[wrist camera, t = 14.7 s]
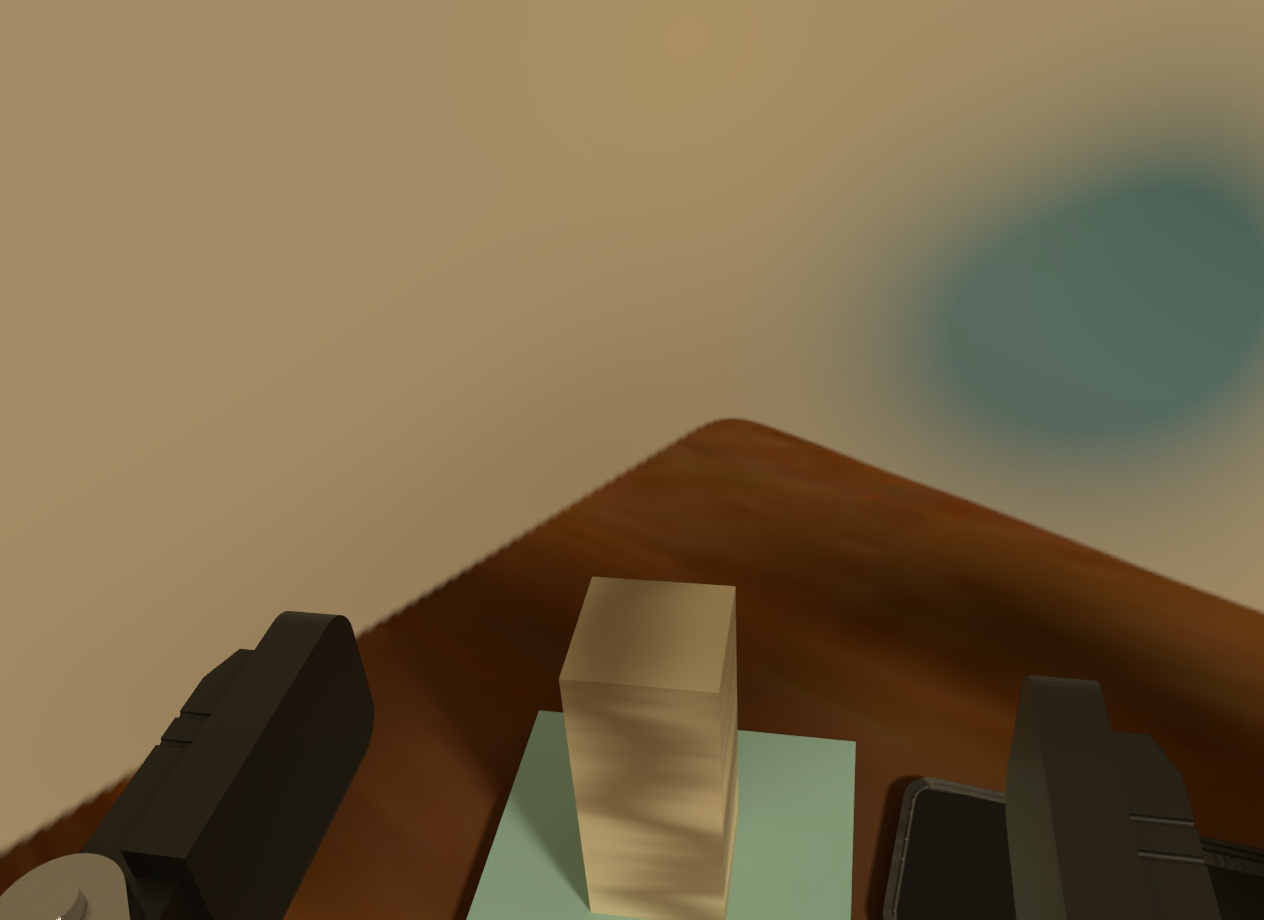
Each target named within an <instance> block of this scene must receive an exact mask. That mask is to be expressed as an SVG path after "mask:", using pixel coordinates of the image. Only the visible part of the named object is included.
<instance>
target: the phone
mask: <svg viewBox="0 0 1264 920" xmlns="http://www.w3.org/2000/svg"><path fill="white" fill-rule="evenodd" d="M1199 839H1200V843H1201V846H1202V850H1203V853H1204V865H1205V866H1207V868H1208V872H1209V875H1210V879H1211V882H1212V886H1213V890H1214V893H1215V897H1216V900H1217V904H1218V908H1219V911H1220V915H1221V919H1222V920H1264V850H1263V849H1259V848H1254V847H1250V846H1245V845H1240V844H1236V843H1231V842H1227V841H1222V840H1217V839H1213V838H1208V837H1204V836H1199ZM882 920H1017V919H1016V909H1015V900H1014V891H1013V881H1012V872H1011V863H1010V853H1009V844H1008V834H1007V825H1006V793H1002V792H998V791H993V790H989V789H984V788H979V787H975V786H970V785H966V784H961V783H957V782H952V781H948V780H943V779H938V778H931V777H925V778H919V779H917V780H915V781H912V782H911V783H910V784H909V785H908V786H907V787H906V790H905V792H904V796H903V801H902V807H901V812H900V818H899V823H898V829H897V834H896V840H895V845H894V851H893V856H892V862H891V867H890V873H889V878H888V884H887V889H886V895H885V900H884V906H883V913H882Z"/></svg>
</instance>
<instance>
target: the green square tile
mask: <svg viewBox="0 0 1264 920" xmlns="http://www.w3.org/2000/svg"><path fill="white" fill-rule="evenodd" d="M737 734H738V809H739V818H738V826H737V834H736V842H735V851H734V859H733V867H732V875H731V884H730V892H729V900H728V908H727V917H726V920H851V889H852V853H853V818H854V783H855V747H856V742H852V741H842V740H832V739H822V738H812V737H802V736H792V735H782V734H772V733H762V732H752V731H742V730H737ZM466 920H648V919H640V918H632V917H624V916H616V915H608V914H600V913H592V912H591V910H590V903H589V895H588V888H587V881H586V874H585V866H584V859H583V852H582V844H581V837H580V830H579V822H578V815H577V808H576V800H575V793H574V786H573V778H572V771H571V764H570V757H569V749H568V742H567V735H566V727H565V720H564V713H560V712H550V711H540V710H539V712H538V715H537V718H536V721H535V723H534V726H533V729H532V732H531V735H530V738H529V741H528V744H527V746H526V749H525V752H524V755H523V758H522V761H521V764H520V767H519V770H518V772H517V775H516V778H515V781H514V784H513V787H512V790H511V793H510V795H509V798H508V801H507V804H506V807H505V810H504V813H503V816H502V818H501V821H500V824H499V827H498V830H497V833H496V836H495V839H494V842H493V844H492V847H491V850H490V853H489V856H488V859H487V862H486V865H485V867H484V870H483V873H482V876H481V879H480V882H479V885H478V888H477V890H476V893H475V896H474V899H473V902H472V905H471V908H470V911H469V914H468V916H467V919H466Z"/></svg>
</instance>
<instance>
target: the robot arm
mask: <svg viewBox="0 0 1264 920" xmlns="http://www.w3.org/2000/svg"><path fill="white" fill-rule="evenodd" d="M373 721H374V708H373V701H372V697H371V693H370V690H369V686H368V682H367V679H366V675H365V672H364V668H363V664H362V661H361V657H360V654H359V650H358V646H357V643H356V639H355V636H354V632H353V629H352V626H351V623H350V622H349V620H348V619H347V618H346V617H344V616H342V615H330V614H318V613H306V612H294V611H286V612H283V613H281V614H280V615H279V616H278V617H277V618H276V619H275V621H274V622H273V623H272V625H271V626H270V628H269V629H268V631H267V632H266V634H265V635H264V637H263V638H262V640H261V641H260V643H259V644H258V646H257V647H256V649H255V650H247V649H239V650H238V651H237V652H235V653H234V654H233V655H231V656H230V657H229V658H228V659H226V660H225V661H224V662H223V663H221V664H220V665H219V666H217V667H216V668H215V669H214V670H212V671H211V672H210V673H209V674H207V675H206V676H205V677H204V678H203V679H202V681H201V682H200V683H199V685H198V686H197V688H196V689H195V690H194V692H193V693H192V695H191V696H190V698H189V699H188V701H187V702H186V703H185V705H184V706H183V707H182V709H181V710H180V717H179V718H175V719H174V720H173V722H172V723H171V724H170V726H169V727H168V729H167V730H166V732H165V733H164V735H163V736H162V737H161V743H160V745H156V746H155V747H154V749H153V750H152V751H151V753H150V754H149V756H148V757H147V758H146V760H145V761H144V763H143V764H142V766H141V767H140V768H139V770H138V771H137V773H136V774H135V775H134V777H133V778H132V780H131V781H130V783H129V784H128V785H127V787H126V788H125V790H124V791H123V792H122V794H121V795H120V797H119V798H118V800H117V801H116V802H115V804H114V805H113V807H112V808H111V810H110V811H109V812H108V814H107V815H106V817H105V818H104V819H103V821H102V822H101V824H100V825H99V827H98V828H97V829H96V831H95V832H94V834H93V835H92V836H91V838H90V839H89V841H88V842H87V844H86V845H85V846H84V847H83V849H82V850H81V851H80V852H79V854H72V855H67V856H63V857H60V858H57V859H54V860H51V861H49V862H47V863H44V864H42V865H40V866H38V867H37V868H35V869H33V870H31V871H30V872H28V873H27V874H25V875H24V876H23V877H21V878H20V879H18V880H17V881H16V882H15V883H14V884H13V885H11V886H10V887H9V888H8V889H7V890H6V891H5V892H4V893H3V894H2V896H1V897H0V920H282V919H283V917H284V915H285V913H286V911H287V909H288V907H289V905H290V903H291V901H292V899H293V897H294V895H295V893H296V891H297V889H298V887H299V885H300V883H301V881H302V879H303V877H304V875H305V873H306V871H307V869H308V867H309V865H310V863H311V861H312V859H313V857H314V855H315V853H316V851H317V849H318V847H319V845H320V843H321V841H322V839H323V837H324V835H325V833H326V831H327V829H328V827H329V825H330V823H331V821H332V819H333V817H334V815H335V813H336V811H337V809H338V807H339V805H340V803H341V801H342V799H343V797H344V795H345V793H346V791H347V789H348V787H349V785H350V783H351V781H352V779H353V777H354V775H355V773H356V771H357V769H358V767H359V765H360V763H361V761H362V759H363V757H364V755H365V753H366V751H367V748H368V746H369V743H370V739H371V735H372V730H373ZM1006 825H1007V834H1008V844H1009V853H1010V863H1011V872H1012V881H1013V891H1014V900H1015V909H1016V919H1017V920H1222V919H1221V915H1220V911H1219V908H1218V904H1217V900H1216V897H1215V893H1214V890H1213V886H1212V882H1211V879H1210V875H1209V872H1208V868H1207V866H1205V865H1204V853H1203V850H1202V846H1201V843H1200V839H1199V835H1198V832H1197V829H1195V828H1194V817H1193V814H1192V810H1191V806H1190V803H1189V799H1188V795H1187V792H1186V788H1185V785H1184V781H1183V777H1182V775H1181V774H1180V772H1179V771H1178V770H1177V768H1176V767H1175V766H1174V765H1173V763H1172V762H1171V761H1170V759H1169V758H1168V757H1167V756H1166V754H1165V753H1164V752H1163V751H1162V749H1161V748H1160V747H1159V745H1158V744H1157V743H1156V742H1155V740H1154V739H1153V738H1152V736H1151V735H1148V734H1137V733H1126V732H1115V731H1111V729H1110V724H1109V720H1108V715H1107V710H1106V706H1105V701H1104V697H1103V693H1102V689H1101V686H1100V684H1099V683H1098V682H1097V681H1094V680H1082V679H1070V678H1058V677H1046V676H1034V675H1026V676H1025V678H1024V681H1023V685H1022V690H1021V695H1020V701H1019V706H1018V712H1017V717H1016V723H1015V728H1014V734H1013V740H1012V745H1011V751H1010V756H1009V762H1008V768H1007V777H1006Z"/></svg>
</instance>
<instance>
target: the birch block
mask: <svg viewBox="0 0 1264 920" xmlns="http://www.w3.org/2000/svg"><path fill="white" fill-rule="evenodd" d="M559 683H560V691H561V698H562V705H563V713H564V720H565V727H566V735H567V742H568V749H569V757H570V764H571V771H572V778H573V786H574V793H575V800H576V808H577V815H578V822H579V830H580V837H581V844H582V852H583V859H584V866H585V874H586V881H587V888H588V895H589V903H590V910H591V912H592V913H600V914H608V915H616V916H624V917H632V918H640V919H648V920H726V917H727V908H728V900H729V892H730V884H731V875H732V867H733V859H734V851H735V842H736V834H737V826H738V818H739V809H738V734H737V660H736V586H723V585H708V584H694V583H679V582H664V581H650V580H635V579H621V578H606V577H592V579H591V582H590V585H589V588H588V591H587V594H586V597H585V600H584V603H583V606H582V609H581V613H580V616H579V619H578V622H577V625H576V628H575V631H574V634H573V637H572V640H571V643H570V646H569V649H568V653H567V656H566V659H565V662H564V665H563V668H562V671H561V674H560V677H559Z"/></svg>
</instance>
